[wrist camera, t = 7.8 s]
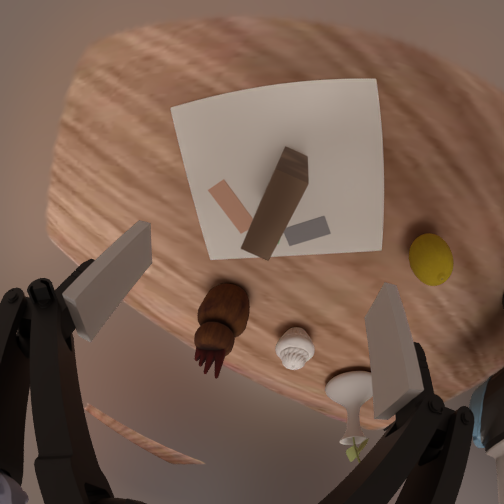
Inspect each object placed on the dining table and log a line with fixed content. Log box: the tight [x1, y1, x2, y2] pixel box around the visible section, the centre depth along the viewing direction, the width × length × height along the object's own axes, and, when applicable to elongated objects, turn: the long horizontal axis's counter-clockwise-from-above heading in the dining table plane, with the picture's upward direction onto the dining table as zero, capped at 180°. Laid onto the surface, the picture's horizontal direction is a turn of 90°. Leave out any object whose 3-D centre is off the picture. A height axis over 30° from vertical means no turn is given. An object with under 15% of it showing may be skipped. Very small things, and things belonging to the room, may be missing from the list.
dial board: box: [171, 79, 384, 260], centre depth 29 cm, size 20×22×2 cm
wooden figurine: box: [194, 283, 250, 378], centre depth 35 cm, size 7×6×15 cm
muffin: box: [275, 327, 315, 370], centre depth 40 cm, size 6×6×7 cm
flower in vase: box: [325, 371, 373, 463], centre depth 37 cm, size 13×11×25 cm
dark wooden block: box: [241, 146, 309, 261], centre depth 26 cm, size 2×13×10 cm, turn 159°
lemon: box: [409, 233, 453, 286], centre depth 27 cm, size 6×6×8 cm
